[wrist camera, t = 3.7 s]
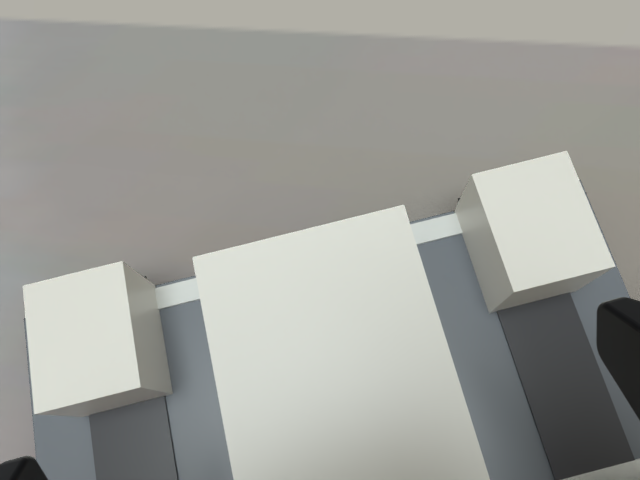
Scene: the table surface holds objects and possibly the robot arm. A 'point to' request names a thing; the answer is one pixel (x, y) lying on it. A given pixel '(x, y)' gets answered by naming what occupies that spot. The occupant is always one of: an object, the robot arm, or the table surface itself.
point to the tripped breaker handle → (335, 357)
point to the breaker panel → (455, 315)
